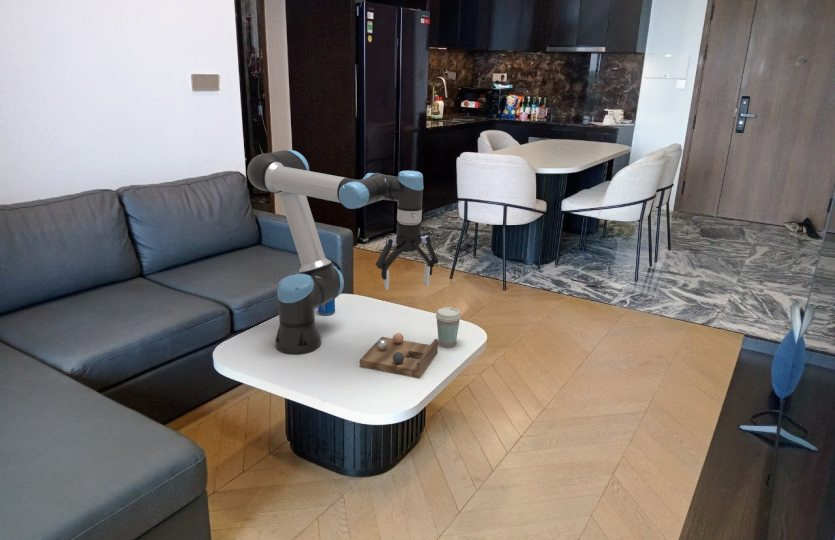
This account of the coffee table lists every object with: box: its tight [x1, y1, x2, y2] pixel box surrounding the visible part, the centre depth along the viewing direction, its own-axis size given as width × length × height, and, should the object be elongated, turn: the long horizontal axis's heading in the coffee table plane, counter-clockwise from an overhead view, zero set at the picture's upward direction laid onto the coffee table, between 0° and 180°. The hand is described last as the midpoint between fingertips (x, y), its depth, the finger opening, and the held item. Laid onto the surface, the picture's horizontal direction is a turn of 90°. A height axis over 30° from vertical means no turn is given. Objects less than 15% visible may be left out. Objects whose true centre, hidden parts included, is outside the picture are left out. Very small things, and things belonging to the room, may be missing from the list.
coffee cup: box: [435, 306, 462, 348], centre depth 199 cm, size 8×8×12 cm
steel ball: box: [377, 339, 388, 350], centre depth 189 cm, size 4×4×4 cm
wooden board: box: [359, 336, 439, 379], centre depth 188 cm, size 20×18×5 cm
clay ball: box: [392, 332, 405, 344], centre depth 194 cm, size 4×4×4 cm
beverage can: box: [317, 298, 336, 316], centre depth 222 cm, size 6×6×12 cm
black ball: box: [393, 352, 404, 363], centre depth 181 cm, size 4×4×4 cm
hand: (406, 286), depth 187 cm, fingers open, 13 cm apart
